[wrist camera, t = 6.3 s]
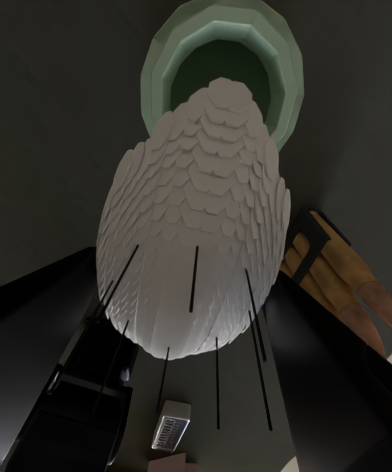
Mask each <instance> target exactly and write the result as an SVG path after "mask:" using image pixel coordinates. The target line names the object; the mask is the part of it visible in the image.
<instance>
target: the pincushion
mask: <svg viewBox="0 0 392 472" xmlns="http://www.w3.org/2000/svg"><path fill="white" fill-rule="evenodd" d="M278 164H279V156H278V150H277V145H276V141H275V140H274V139H273V138H270V137H269V133H268V130H267V126H266V125H265V124H263V117H262V114H261V112H260V110H259V108H258V106H257V104H256V102H254V101H252V93H251V92H250V90H249V89H248V88H247V87H246V85H245V84H244V83H241V82H237V81H233V82H232V81H231V80H230V79H226V78H223V77H220V78H218V79H216V80H213V81H211V82H210V83H209V87H208V88H201V89H200V90H198V91H197V92H195V93H194V94H193V95H191V96H190V98H189V100H188V102H186V103H181V104H180V105H179V106H178V107H177V108H176V109H175V110H174V112H173V113H172V111H168V112H165V113H164V114H163V116H162V117H161V118H160V119H159V121H158V122H157V123H156V124H155V126H154V129H153V132H152V134H151V137H150V139H147V141H146V142H145V143H144V142H140V143H138V144H137V146H136V147H135V149H134V150H132V149H130V150H127V152H126V154H125V155H124V157H123V158H122V160H121V161H120V163H119V166H118V168H117V171H116V174H115V176H114V179H113V184H112V186H111V189H110V191H109V194H108V197H107V199H106V202H105V205H104V208H103V212H102V216H101V221H100V226H99V231H98V236H97V242H96V246H97V249H96V268H97V283H98V291H99V298H100V303H99V304H98V306H97V308H96V310H95V312H94V313H93V315H92V317H91V319H90V320H89V322H88V324H87V326H86V327H85V329H84V331H83V333H82V334H81V336H80V338H79V340H78V341H77V343H76V345H75V347H74V349H73V350H72V352H71V354H70V356H69V357H68V359H67V361H66V363H65V364H64V366H63V368H62V370H61V371H60V373H59V375H58V377H57V379H56V380H55V382H54V384H53V386H52V387H51V389H50V391H49V393H48V394H50V395H51V394H52V392H53V390H54V389H55V387H56V385H57V383H58V381H59V380H60V378H61V376H62V374H63V372H64V371H65V369H66V367H67V365H68V363H69V362H70V360H71V358H72V356H73V354H74V353H75V351H76V349H77V347H78V345H79V344H80V342H81V340H82V338H83V336H84V334H85V333H86V331H87V329H88V327H89V325H90V324H91V322H92V320H93V318H94V316H95V315H96V313H97V311H98V309H99V307H100V306H101V304H102V302H103V303H104V307H103V309H102V311H101V313H100V315H99V317H98V319H97V320H96V323H97V324H98V323H99V322H100V320H101V318H102V317H103V315H104V313H106V316H107V319H109V316H110V319H111V321H112V324H113V325H114V327H115V328H116V330H117V329H118V330H119V331H120V333H121V334H122V336H121V338H120V341H119V343H118V346H117V349H116V351H115V354H114V356H113V359H112V361H111V364H110V366H109V369H108V372H107V374H106V377H105V379H104V382H103V384H102V387H101V389H100V392H99V395H98V397H97V400H96V402H95V405H94V407H93V410H92V413H94V412H95V410H96V407H97V404H98V402H99V399H100V396H101V394H102V391H103V389H104V386H105V383H106V381H107V378H108V376H109V373H110V370H111V368H112V365H113V362H114V360H115V357H116V355H117V352H118V349H119V347H120V344H121V341H122V339H123V336H124V334H125V336H126V337H128V338H130V339H131V340H132V341H133V342H134V343H138V344H139V345H140V346H142V347H143V349H144V350H145V351H147V352H148V353H151V354H152V355H153V356H154V357H156V358H164V359H166V361H165V366H164V372H163V377H162V383H161V388H160V394H159V399H158V405H157V410H156V414H158V412H159V407H160V401H161V395H162V389H163V384H164V378H165V372H166V366H167V361H168V360H173V359H176V358H183V357H185V356H187V355H190V354H194V355H195V354H196V355H197V354H199V353H202V352H203V353H204V352H206V351H212V350H214V349H215V350H216V380H217V429H218V430H219V429H220V419H219V377H218V349H219V348H220V347H222V346H223V345H225V344H226V343H227V342H228V341H229V340H230V339H231V340H230V342H229V344H230V343H231V342H232V341H233V340H234V339H235V338H236V337H237V336H238V335H239V333H243V332H245V331H246V329H247V328H248V327H249V325H250V324H251V329H252V334H253V340H254V346H255V351H256V357H257V363H258V368H259V374H260V380H261V386H262V391H263V397H264V403H265V408H266V414H267V420H268V425H269V431H272V425H271V420H270V414H269V409H268V403H267V398H266V393H265V387H264V382H263V376H262V371H261V366H260V360H259V355H258V349H257V344H256V339H255V333H254V328H253V323H252V321H253V320H254V318H255V322H256V327H257V332H258V337H259V342H260V347H261V352H262V357H263V362H267V359H266V355H265V350H264V345H263V341H262V336H261V331H260V327H259V322H258V317H257V313H258V312H259V310H260V309H261V307H262V305H263V304H264V301H265V300H266V296H267V297H268V295H269V292H270V289H271V286H272V285H274V283H275V281H276V278H277V275H278V271H279V268H280V264H281V261H282V260H283V255H284V248H285V239H286V232H287V228H288V224H289V219H290V207H291V203H290V191H289V189H286V191H285V181H284V179H283V177H279V172H278ZM108 313H109V314H108Z"/></svg>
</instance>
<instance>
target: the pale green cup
mask: <svg viewBox="0 0 392 472" xmlns="http://www.w3.org/2000/svg"><path fill="white" fill-rule="evenodd" d="M301 55H302V54H301V52H300V50H299V47H298V45H297V43H296V41H295V39H294V37H293V35H292V33H291V31H290V28H289V26H288V24H287V22H286V20H285V19H284V18H283V17H282V16H281V15H280V14H278V13H277V12H276V11H274V10H273V9H272V8H271V7H269V6H268V5H267V4H265V3H264V2H263V1H262V0H192V1H189V2H187V3H185V4H183V5H180V7H178V8H177V9H176V11H175V12H174V13H173V14H172V15H171V17H170V18H169V19H168V20H167V21H166V23H165V24H164V25H163V26H162V27H161V28H160V30H159V31H158V32H157V33H156V34H155V36H154V38H153V39H152V42H151V45H150V48H149V51H148V54H147V57H146V60H145V63H144V66H143V69H142V72H141V77H140V81H141V112H142V113H141V114H142V117H143V119H144V122H145V125H146V128H147V130H148V133H149V136H150V137H151V134H152V132H153V129H154V126H155V124H156V123H157V122H158V121H159V119H160V118H161V117H162V116H163V114H164V113H165V112H168V111H172V113H173V112H174V110H175V109H176V108H177V107H178V106H179V105H180V104H181V103H186V102H188V100H189V98H190V96H191V95H193V94H194V93H195V92H197V91H198V90H200V89H201V88H208V87H209V83H210V82H211V81H213V80H216V79H218V78H220V77H223V78H226V79H230V80H231V81H232V82H233V81H237V82H241V83H244V84H245V85H246V87H247V88H248V89H249V90H250V92H251V93H252V101H254V102H256V104H257V106H258V108H259V110H260V112H261V114H262V117H263V124H265V125H266V126H267V130H268V133H269V137H270V138H273V139H274V140H275V141H276V145H277V150H278V153H279V151H280V150H281V148H282V147H283V145H284V144H285V143H286V141H287V140H288V138H289V137H290V135H291V134H292V133H293V130H294V128H295V125H296V121H297V118H298V115H299V111H300V108H301V104H302V101H303V97H304V81H303V63H302V56H301Z"/></svg>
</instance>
